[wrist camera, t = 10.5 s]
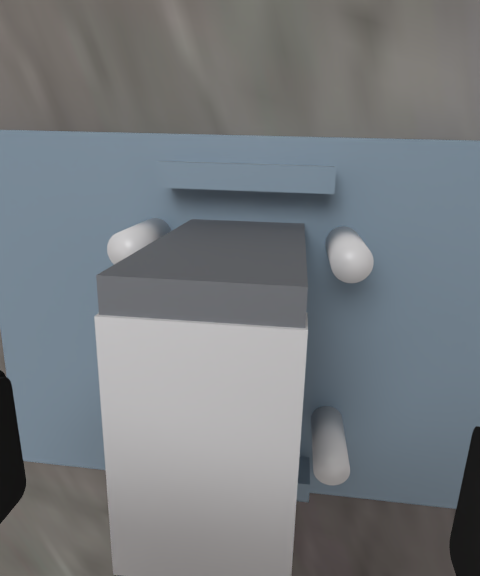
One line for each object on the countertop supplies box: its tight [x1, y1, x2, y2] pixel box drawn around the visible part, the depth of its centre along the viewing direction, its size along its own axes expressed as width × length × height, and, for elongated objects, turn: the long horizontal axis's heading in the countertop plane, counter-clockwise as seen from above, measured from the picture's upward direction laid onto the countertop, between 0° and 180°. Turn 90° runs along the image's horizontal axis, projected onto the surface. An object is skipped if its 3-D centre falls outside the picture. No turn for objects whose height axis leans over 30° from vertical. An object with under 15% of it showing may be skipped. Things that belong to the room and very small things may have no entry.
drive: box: [94, 219, 308, 576], centre depth 13 cm, size 4×8×8 cm, turn 179°
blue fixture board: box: [0, 130, 480, 509], centre depth 16 cm, size 20×14×4 cm
